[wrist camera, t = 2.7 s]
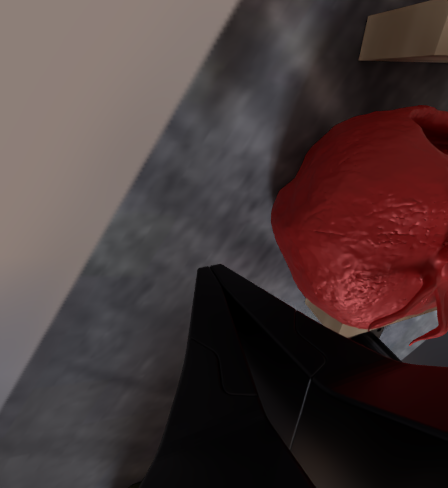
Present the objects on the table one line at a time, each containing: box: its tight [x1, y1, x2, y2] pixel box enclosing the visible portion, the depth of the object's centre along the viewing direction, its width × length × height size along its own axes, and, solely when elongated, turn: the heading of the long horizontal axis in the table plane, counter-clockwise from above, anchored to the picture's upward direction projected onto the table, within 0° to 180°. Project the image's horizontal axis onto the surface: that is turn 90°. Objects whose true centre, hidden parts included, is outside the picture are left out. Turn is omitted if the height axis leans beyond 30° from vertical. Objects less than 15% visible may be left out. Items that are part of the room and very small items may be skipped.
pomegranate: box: [271, 105, 448, 346], centre depth 12 cm, size 10×10×9 cm
